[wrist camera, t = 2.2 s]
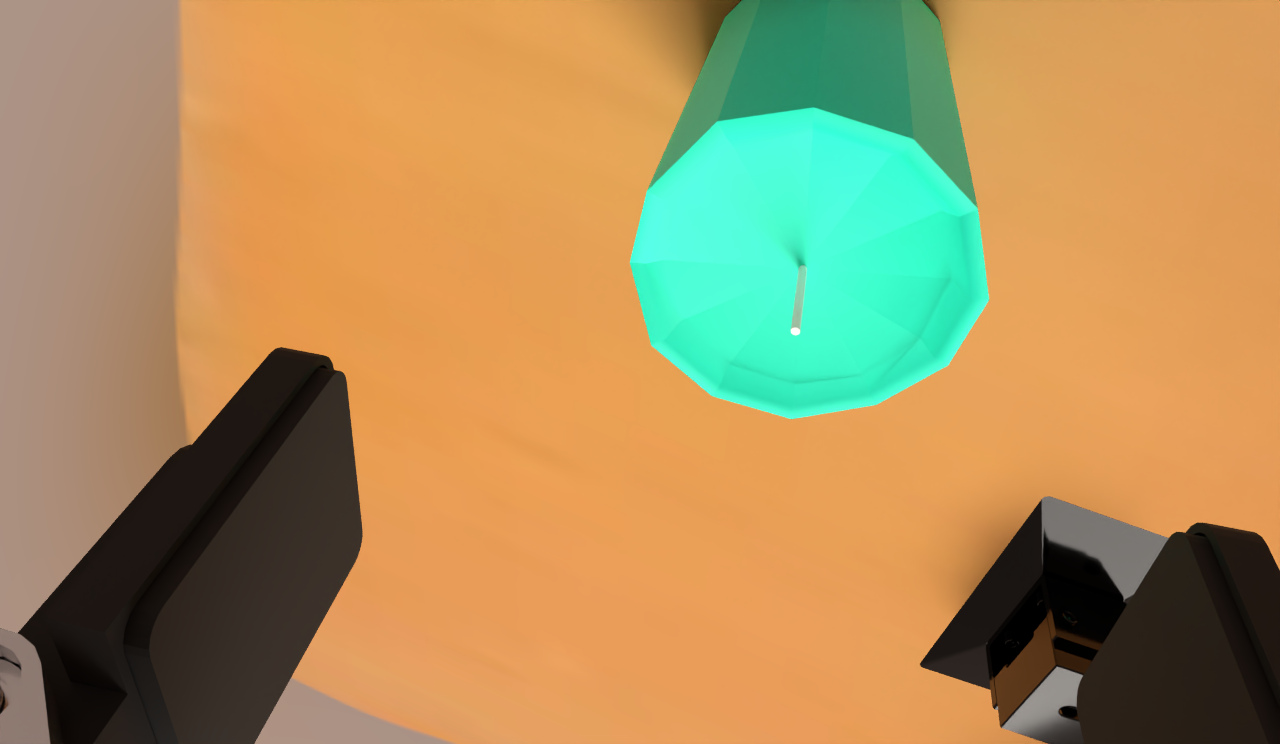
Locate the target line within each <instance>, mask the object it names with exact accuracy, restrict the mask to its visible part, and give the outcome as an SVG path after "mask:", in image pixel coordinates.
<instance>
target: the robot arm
mask: <svg viewBox="0 0 1280 744" xmlns="http://www.w3.org/2000/svg"><path fill="white" fill-rule="evenodd" d="M361 543H362V522H361V513H360V503H359V494H358V484H357V475H356V466H355V456H354V447H353V438H352V428H351V419H350V409H349V400H348V391H347V382H346V377H345V375H344V373H343V372H341V371H336V370H334V368H333V364H332V362H331V360H330V358H329V357H327V356H324V355H319V354H314V353H308V352H303V351H298V350H293V349H287V348H282V347H280V348H277V349H275V350H274V351H272V352H271V353H270V354H269V355H268V356H267V358H266V359H265V360H264V361H263V362H262V363H261V365H260V366H259V367H258V368H257V369H256V370H255V372H254V373H253V374H252V375H251V376H250V378H249V379H248V380H247V381H246V382H245V383H244V385H243V386H242V387H241V388H240V389H239V390H238V392H237V393H236V394H235V395H234V396H233V397H232V399H231V400H230V401H229V402H228V403H227V404H226V406H225V407H224V408H223V409H222V410H221V411H220V413H219V414H218V415H217V416H216V417H215V419H214V420H213V421H212V422H211V423H210V424H209V426H208V427H207V428H206V429H205V430H204V431H203V433H202V434H201V435H200V436H199V437H198V438H197V440H196V441H195V442H194V443H193V444H192V445H188V446H185V447H183V448H180V449H179V450H178V451H177V452H176V453H175V454H173V455H172V456H171V457H170V458H169V459H168V460H167V462H166V463H165V464H164V465H163V466H162V467H161V468H160V470H159V471H158V472H157V473H156V474H155V475H154V477H153V478H152V479H151V480H150V481H149V482H148V483H147V485H146V486H145V487H144V488H143V489H142V490H141V492H140V493H139V494H138V495H137V496H136V497H135V498H134V500H133V501H132V502H131V503H130V504H129V505H128V507H127V508H126V509H125V510H124V511H123V512H122V513H121V515H120V516H119V517H118V518H117V519H116V520H115V522H114V523H113V524H112V525H111V526H110V527H109V529H108V530H107V531H106V532H105V533H104V534H103V535H102V536H101V538H100V539H99V540H98V541H97V542H96V544H95V545H94V546H93V547H92V548H91V549H90V550H89V551H88V553H87V554H86V555H85V556H84V557H83V558H82V560H81V561H80V562H79V563H78V564H77V565H76V566H75V568H74V569H73V570H72V571H71V572H70V573H69V575H68V576H67V577H66V578H65V579H64V580H63V581H62V583H61V584H60V585H59V586H58V587H57V588H56V590H55V591H54V592H53V593H52V594H51V595H50V596H49V598H48V599H47V600H46V601H45V602H44V603H43V604H42V606H41V607H40V608H39V609H38V610H37V611H36V613H35V614H34V615H33V616H32V617H31V618H30V619H29V621H28V622H27V623H26V624H25V625H24V627H23V628H22V629H21V630H20V631H19V632H18V633H15V632H11V631H8V630H5V629H2V628H0V744H254V743H255V741H256V739H257V738H258V736H259V734H260V732H261V730H262V728H263V727H264V725H265V723H266V721H267V720H268V718H269V716H270V714H271V713H272V711H273V709H274V707H275V705H276V704H277V702H278V700H279V698H280V696H281V695H282V693H283V691H284V689H285V687H286V686H287V684H288V682H289V680H290V678H291V677H292V675H293V673H294V671H295V669H296V668H297V666H298V664H299V662H300V660H301V659H302V657H303V655H304V653H305V651H306V650H307V648H308V646H309V644H310V642H311V641H312V639H313V637H314V635H315V633H316V632H317V630H318V628H319V626H320V624H321V623H322V621H323V619H324V617H325V615H326V614H327V612H328V610H329V608H330V606H331V605H332V603H333V601H334V599H335V597H336V596H337V594H338V592H339V590H340V588H341V587H342V585H343V583H344V581H345V579H346V578H347V576H348V574H349V572H350V570H351V569H352V567H353V565H354V563H355V561H356V559H357V557H358V554H359V551H360V547H361ZM1077 713H1078V718H1079V722H1080V727H1081V731H1082V736H1083V740H1084V744H1280V570H1279V568H1278V566H1277V564H1276V562H1275V560H1274V558H1273V556H1272V554H1271V552H1270V550H1269V548H1268V546H1267V544H1266V542H1265V541H1264V539H1263V538H1262V537H1261V536H1260V535H1258V534H1257V533H1255V532H1250V531H1244V530H1239V529H1234V528H1229V527H1223V526H1218V525H1213V524H1208V523H1196V524H1194V525H1193V526H1191V527H1190V528H1189V529H1188V530H1187V532H1186V533H1183V532H1176V533H1174V534H1172V535H1171V536H1170V538H1169V539H1168V540H1167V542H1166V543H1165V545H1164V546H1163V548H1162V550H1161V551H1160V553H1159V554H1158V556H1157V558H1156V559H1155V561H1154V563H1153V564H1152V566H1151V567H1150V569H1149V571H1148V572H1147V574H1146V575H1145V577H1144V579H1143V580H1142V582H1141V583H1140V585H1139V587H1138V588H1137V590H1136V591H1135V593H1134V595H1133V596H1132V598H1131V599H1130V601H1129V603H1128V604H1127V606H1126V608H1125V609H1124V611H1123V612H1122V614H1121V616H1120V617H1119V619H1118V620H1117V622H1116V624H1115V625H1114V627H1113V628H1112V630H1111V632H1110V633H1109V635H1108V636H1107V638H1106V640H1105V641H1104V643H1103V644H1102V646H1101V648H1100V649H1099V651H1098V653H1097V654H1096V656H1095V657H1094V659H1093V661H1092V662H1091V664H1090V665H1089V667H1088V669H1087V670H1086V672H1085V673H1084V675H1083V677H1082V679H1081V681H1080V683H1079V687H1078V691H1077Z"/></svg>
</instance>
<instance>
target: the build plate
mask: <svg viewBox="0 0 1280 744" xmlns="http://www.w3.org/2000/svg"><path fill="white" fill-rule="evenodd" d="M1168 539H1169V538H1167V537H1164V536H1161V535H1158V534H1155V533H1152V532H1150V531H1147V530H1144V529H1141V528H1138V527H1135V526H1132V525H1130V524H1127V523H1124V522H1121V521H1118V520H1115V519H1113V518H1110V517H1107V516H1104V515H1101V514H1098V513H1095V512H1093V511H1090V510H1087V509H1084V508H1081V507H1078V506H1076V505H1073V504H1070V503H1067V502H1064V501H1061V500H1058V499H1056V498H1053V497H1044V498H1043V499H1042V500H1041V501H1040V502H1039V504H1038V505H1037V506H1036V508H1035V509H1034V510H1033V512H1032V513H1031V515H1030V516H1029V517H1028V519H1027V520H1026V521H1025V523H1024V524H1023V525H1022V527H1021V528H1020V529H1019V531H1018V532H1017V533H1016V535H1015V536H1014V537H1013V539H1012V540H1011V541H1010V543H1009V544H1008V546H1007V547H1006V548H1005V550H1004V551H1003V552H1002V554H1001V555H1000V556H999V558H998V559H997V560H996V562H995V563H994V564H993V566H992V567H991V568H990V570H989V571H988V573H987V574H986V575H985V577H984V578H983V579H982V581H981V582H980V583H979V585H978V586H977V587H976V589H975V590H974V591H973V593H972V594H971V595H970V597H969V598H968V599H967V601H966V602H965V604H964V605H963V606H962V608H961V609H960V610H959V612H958V613H957V614H956V616H955V617H954V618H953V620H952V621H951V622H950V624H949V625H948V626H947V628H946V629H945V631H944V632H943V633H942V635H941V636H940V637H939V639H938V640H937V641H936V643H935V644H934V645H933V647H932V648H931V649H930V651H929V652H928V653H927V655H926V656H925V658H924V659H923V660H922V662H921V663H920V666H921V667H923V668H926V669H929V670H932V671H935V672H938V673H941V674H944V675H947V676H950V677H953V678H956V679H959V680H962V681H965V682H968V683H971V684H975V685H978V686H981V687H984V688H987V689H990V690H991V697H992V705H993V708H994V709H996V710H998V712H999V720H1000V727H1001V728H1004V729H1007V730H1010V731H1013V732H1016V733H1019V734H1022V735H1025V736H1028V737H1030V738H1033V739H1036V740H1039V741H1042V742H1045V743H1048V744H1084V740H1083V736H1082V731H1081V727H1080V722H1079V718H1078V713H1077V691H1078V687H1079V683H1080V681H1081V679H1082V677H1083V675H1084V673H1085V672H1086V670H1087V669H1088V667H1089V665H1090V664H1091V662H1092V661H1093V659H1094V657H1095V656H1096V654H1097V653H1098V651H1099V649H1100V648H1101V646H1102V644H1103V643H1104V641H1105V640H1106V638H1107V636H1108V635H1109V633H1110V632H1111V630H1112V628H1113V627H1114V625H1115V624H1116V622H1117V620H1118V619H1119V617H1120V616H1121V614H1122V612H1123V611H1124V609H1125V608H1126V606H1127V604H1128V603H1129V601H1130V599H1131V598H1132V596H1133V595H1134V593H1135V591H1136V590H1137V588H1138V587H1139V585H1140V583H1141V582H1142V580H1143V579H1144V577H1145V575H1146V574H1147V572H1148V571H1149V569H1150V567H1151V566H1152V564H1153V563H1154V561H1155V559H1156V558H1157V556H1158V554H1159V553H1160V551H1161V550H1162V548H1163V546H1164V545H1165V543H1166V542H1167V540H1168Z"/></svg>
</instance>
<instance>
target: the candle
mask: <svg viewBox="0 0 1280 744" xmlns="http://www.w3.org/2000/svg"><path fill="white" fill-rule="evenodd" d="M630 265H631V269H632V272H633V276H634V280H635V284H636V288H637V292H638V296H639V299H640V303H641V307H642V311H643V315H644V319H645V323H646V327H647V330H648V334H649V338H650V342H651V345H652V346H653V347H654V348H655V349H656V350H658V351H659V352H660V353H661V354H662V355H663V356H665V357H666V358H667V359H668V360H669V361H671V362H672V363H673V364H674V365H675V366H677V367H678V368H679V369H680V370H681V371H683V372H684V373H685V374H686V375H687V376H689V377H690V378H691V379H692V380H693V381H695V382H696V383H697V384H698V385H699V386H701V387H702V388H703V389H704V390H705V391H706V392H708V393H709V394H710V395H711V396H714V397H717V398H721V399H724V400H728V401H731V402H735V403H738V404H741V405H745V406H748V407H752V408H755V409H759V410H762V411H766V412H769V413H772V414H776V415H779V416H783V417H786V418H790V419H795V418H801V417H807V416H813V415H819V414H825V413H831V412H837V411H842V410H848V409H854V408H860V407H866V406H872V405H877V404H879V403H880V402H882V401H884V400H886V399H888V398H889V397H891V396H893V395H895V394H897V393H899V392H900V391H902V390H904V389H906V388H908V387H910V386H911V385H913V384H915V383H917V382H919V381H920V380H922V379H924V378H926V377H928V376H930V375H931V374H933V373H935V372H937V371H939V370H940V369H942V368H944V367H946V366H948V365H949V363H950V361H951V360H952V358H953V357H954V355H955V353H956V352H957V350H958V349H959V347H960V345H961V344H962V342H963V341H964V339H965V338H966V336H967V334H968V333H969V331H970V330H971V328H972V326H973V325H974V323H975V322H976V320H977V318H978V317H979V315H980V314H981V312H982V310H983V309H984V307H985V306H986V304H987V302H988V301H989V296H988V287H987V279H986V271H985V263H984V255H983V247H982V239H981V231H980V222H979V214H978V207H977V202H976V197H975V192H974V188H973V183H972V178H971V173H970V168H969V163H968V158H967V153H966V148H965V143H964V138H963V133H962V128H961V123H960V119H959V114H958V109H957V104H956V99H955V94H954V89H953V84H952V79H951V74H950V69H949V64H948V59H947V54H946V49H945V45H944V40H943V35H942V30H941V25H940V21H939V19H938V18H937V17H936V16H935V15H934V14H933V12H932V11H931V10H930V9H929V8H928V7H927V5H926V4H925V3H924V2H923V1H922V0H742V1H741V2H740V3H739V4H738V5H737V6H736V7H735V8H734V9H733V10H732V11H731V12H730V13H729V14H728V15H727V16H726V17H725V18H724V21H723V23H722V25H721V27H720V29H719V32H718V34H717V36H716V38H715V41H714V43H713V45H712V47H711V50H710V52H709V54H708V56H707V58H706V61H705V63H704V65H703V67H702V70H701V72H700V74H699V76H698V78H697V81H696V83H695V85H694V87H693V90H692V92H691V94H690V96H689V99H688V101H687V103H686V105H685V107H684V110H683V112H682V114H681V116H680V119H679V121H678V123H677V125H676V128H675V130H674V132H673V134H672V136H671V139H670V141H669V143H668V145H667V148H666V150H665V152H664V154H663V156H662V159H661V161H660V163H659V165H658V168H657V170H656V172H655V174H654V177H653V179H652V181H651V183H650V185H649V188H648V190H647V193H646V197H645V202H644V206H643V210H642V214H641V218H640V223H639V227H638V231H637V235H636V239H635V243H634V248H633V252H632V256H631V260H630Z"/></svg>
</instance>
